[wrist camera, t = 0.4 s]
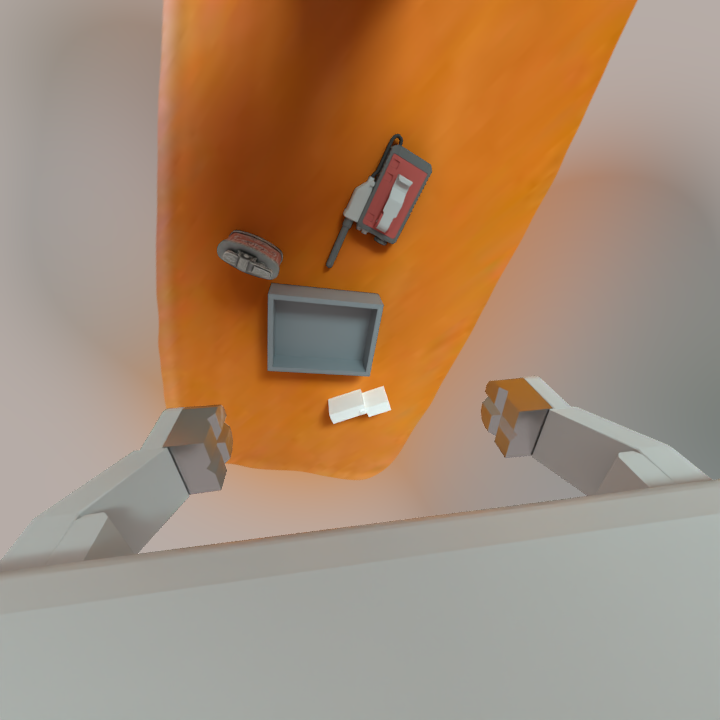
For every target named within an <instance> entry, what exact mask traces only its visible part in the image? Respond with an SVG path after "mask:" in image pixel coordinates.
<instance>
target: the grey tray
mask: <svg viewBox="0 0 720 720" xmlns="http://www.w3.org/2000/svg"><path fill="white" fill-rule="evenodd" d="M383 306H384V305H383V303H382V301H381V299H380V296H379V294H375V293H365V292H356V291H346V290H336V289H326V288H317V287H307V286H297V285H288V284H278V283H271V286H270V289H269V292H268V371H281V372H300V373H318V374H336V375H354V376H370V372H371V366H372V361H373V356H374V351H375V346H376V341H377V336H378V331H379V326H380V321H381V316H382V311H383Z"/></svg>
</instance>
